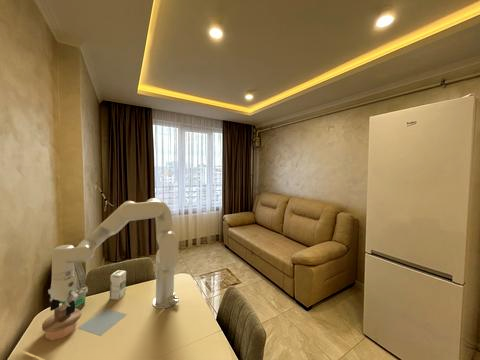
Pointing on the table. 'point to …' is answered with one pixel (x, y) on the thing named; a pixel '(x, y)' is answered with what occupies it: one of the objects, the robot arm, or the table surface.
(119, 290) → the syrup box
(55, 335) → the bowl
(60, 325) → the lid
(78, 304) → the food container
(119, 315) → the mat
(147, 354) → the table surface
